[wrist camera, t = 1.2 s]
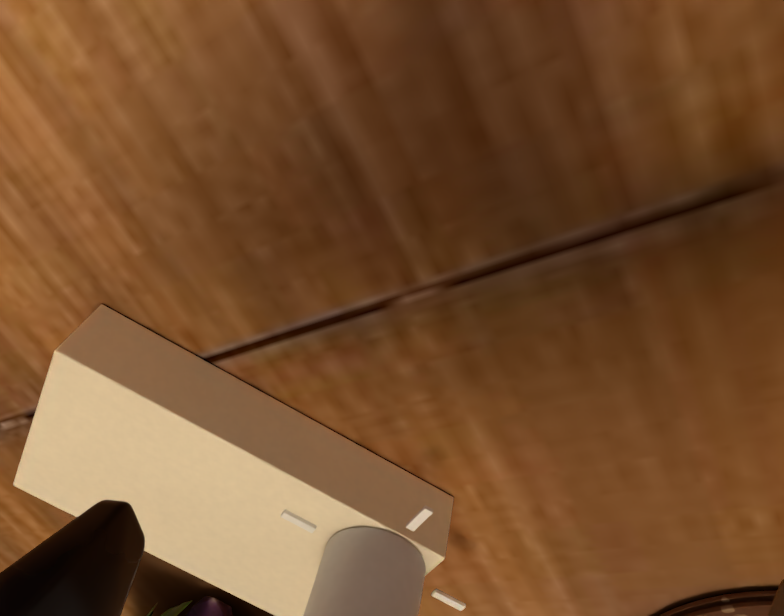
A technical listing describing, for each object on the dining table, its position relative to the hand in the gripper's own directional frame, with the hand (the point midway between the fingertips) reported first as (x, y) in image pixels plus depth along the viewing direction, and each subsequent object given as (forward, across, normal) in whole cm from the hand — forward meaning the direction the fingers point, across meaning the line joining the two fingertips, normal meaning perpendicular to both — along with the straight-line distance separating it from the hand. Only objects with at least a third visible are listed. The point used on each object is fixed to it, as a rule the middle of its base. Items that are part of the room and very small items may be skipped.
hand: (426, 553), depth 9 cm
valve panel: (+13, +9, +13) cm, 20 cm away
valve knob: (+10, +4, +14) cm, 18 cm away
